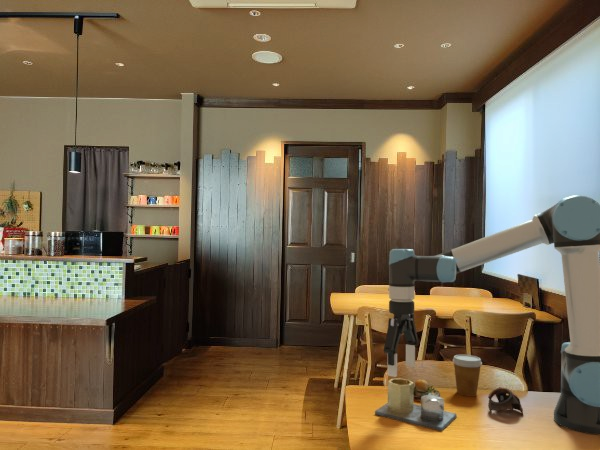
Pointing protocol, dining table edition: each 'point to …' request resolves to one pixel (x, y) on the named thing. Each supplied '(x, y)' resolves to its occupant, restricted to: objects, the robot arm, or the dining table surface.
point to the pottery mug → (504, 400)
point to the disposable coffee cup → (467, 374)
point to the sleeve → (400, 395)
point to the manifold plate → (417, 417)
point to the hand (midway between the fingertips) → (401, 371)
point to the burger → (423, 390)
